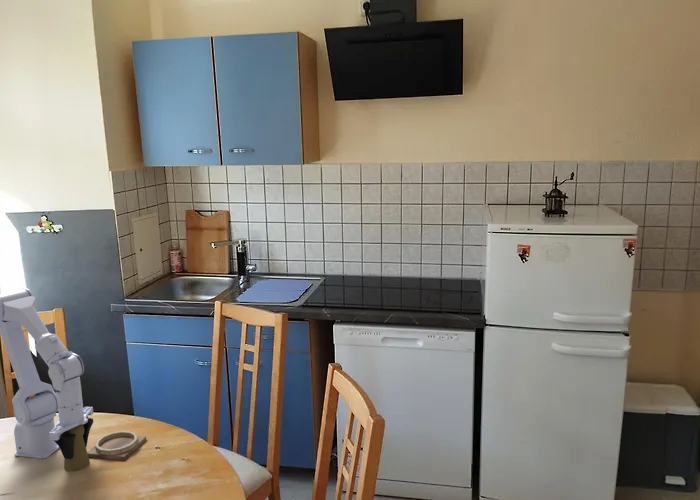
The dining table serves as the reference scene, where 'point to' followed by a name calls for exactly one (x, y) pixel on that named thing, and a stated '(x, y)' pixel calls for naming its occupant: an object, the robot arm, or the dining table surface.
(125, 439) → the cup holder
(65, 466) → the cork
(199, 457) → the dining table surface
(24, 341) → the robot arm
